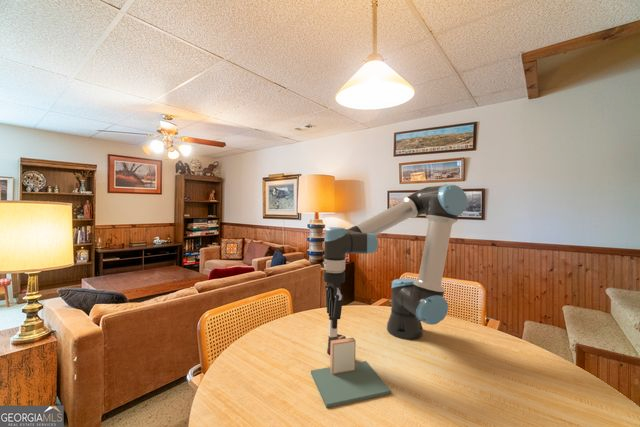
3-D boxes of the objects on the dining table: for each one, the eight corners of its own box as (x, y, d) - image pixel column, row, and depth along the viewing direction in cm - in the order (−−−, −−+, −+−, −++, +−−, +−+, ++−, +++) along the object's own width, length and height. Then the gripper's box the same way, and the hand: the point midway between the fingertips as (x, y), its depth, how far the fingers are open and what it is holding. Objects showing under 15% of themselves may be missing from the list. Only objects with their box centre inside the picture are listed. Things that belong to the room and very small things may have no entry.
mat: (366, 363, 95) (366, 360, 95) (390, 393, 80) (391, 390, 80) (310, 373, 89) (310, 370, 89) (326, 407, 74) (326, 404, 74)
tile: (352, 366, 91) (353, 337, 91) (355, 370, 89) (355, 340, 89) (330, 370, 89) (330, 340, 89) (332, 374, 87) (332, 343, 87)
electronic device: (346, 364, 95) (346, 342, 94) (326, 353, 101) (326, 333, 101) (354, 359, 98) (354, 338, 98) (334, 349, 104) (334, 330, 104)
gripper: (319, 267, 102) (317, 329, 103) (330, 275, 90) (329, 346, 90) (337, 266, 104) (336, 327, 105) (351, 274, 92) (349, 343, 92)
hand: (332, 335), depth 97 cm, fingers closed
